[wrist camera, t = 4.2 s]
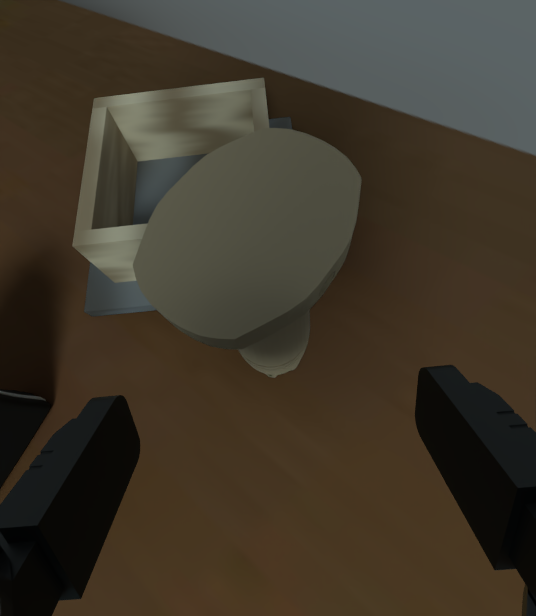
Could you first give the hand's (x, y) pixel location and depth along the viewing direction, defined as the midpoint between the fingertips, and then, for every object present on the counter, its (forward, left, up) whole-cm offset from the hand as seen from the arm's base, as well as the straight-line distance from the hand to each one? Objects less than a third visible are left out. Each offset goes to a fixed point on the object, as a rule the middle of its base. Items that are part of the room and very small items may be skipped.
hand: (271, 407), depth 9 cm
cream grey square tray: (+5, -16, -13) cm, 21 cm away
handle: (0, -4, -13) cm, 13 cm away
